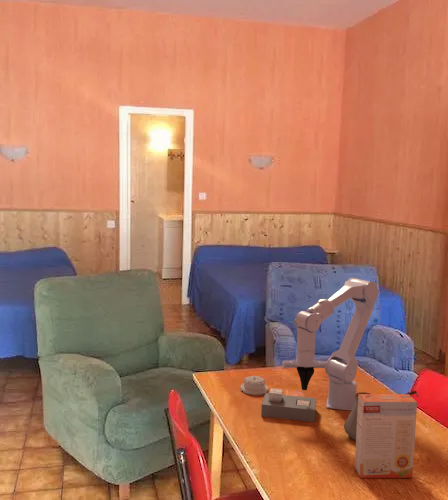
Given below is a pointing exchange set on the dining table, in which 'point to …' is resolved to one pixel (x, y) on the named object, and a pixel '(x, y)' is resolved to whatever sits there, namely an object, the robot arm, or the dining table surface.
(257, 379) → the mechanical component
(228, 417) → the dining table surface
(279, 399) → the greyish pink cube
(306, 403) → the pink matte cube
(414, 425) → the cracker box
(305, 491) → the dining table surface
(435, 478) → the dining table surface
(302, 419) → the block
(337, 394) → the robot arm
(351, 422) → the coffee pot
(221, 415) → the dining table surface
